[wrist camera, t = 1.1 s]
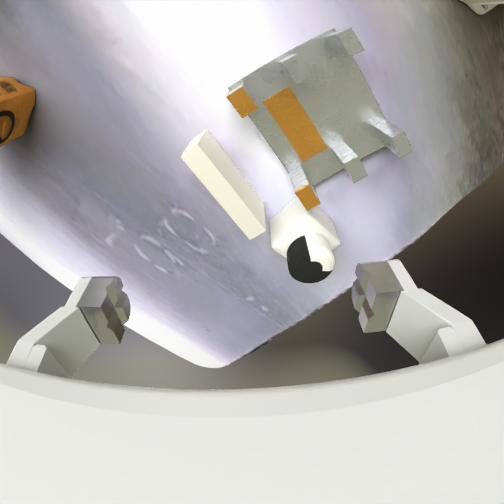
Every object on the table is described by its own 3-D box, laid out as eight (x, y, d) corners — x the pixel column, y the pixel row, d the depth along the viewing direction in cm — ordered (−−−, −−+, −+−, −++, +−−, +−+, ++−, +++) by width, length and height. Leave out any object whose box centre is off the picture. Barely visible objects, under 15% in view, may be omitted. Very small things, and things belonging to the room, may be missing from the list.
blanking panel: (206, 128, 38) (197, 144, 31) (263, 202, 45) (266, 230, 38) (192, 138, 39) (180, 156, 32) (250, 210, 46) (250, 240, 39)
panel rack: (331, 29, 29) (349, 23, 23) (391, 138, 38) (415, 155, 32) (228, 87, 34) (223, 93, 28) (300, 188, 43) (308, 214, 37)
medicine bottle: (299, 245, 49) (310, 297, 40) (267, 221, 47) (272, 271, 37) (331, 218, 46) (351, 266, 37) (300, 190, 43) (315, 235, 34)
